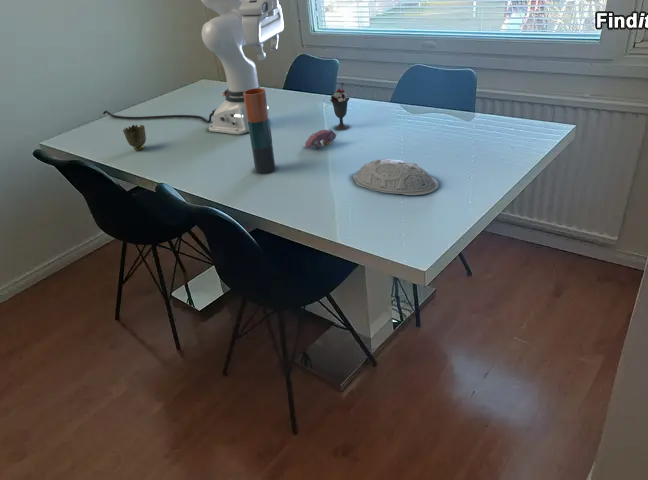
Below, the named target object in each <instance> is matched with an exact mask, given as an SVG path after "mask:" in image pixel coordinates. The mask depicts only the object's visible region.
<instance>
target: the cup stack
mask: <svg viewBox="0 0 648 480" xmlns="http://www.w3.org/2000/svg"><path fill="white" fill-rule="evenodd" d="M247 121H248V120H247ZM270 121H271V120H270V117H269V118H268V119H267V120H265V121H262V122H256V123H254V122H249V121H248V127H249V132H248V134H249V140H250V145H251V151H252V158H253V164H254V170H255V173H257V174H261V175H264V174H270V173H272V172H275V171H276V168H277V167H276V161H275V154H274V145H273V138H272V129H271V122H270Z"/></svg>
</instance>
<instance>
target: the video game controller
mask: <svg viewBox="0 0 648 480" xmlns="http://www.w3.org/2000/svg"><path fill="white" fill-rule="evenodd" d="M336 138H337V134H336V132H335V131H334V130H332V129H331V128H329V129H320V130H318V131H317V132H314V133H312V134H311V135H310V136H309V137H308V139H306V141H305V142H304V145H305V148H306V149H310V148H312V147H315V149H320V148H321V147H322V145H323V146H324V147H327V146H329V145H330V143H331V142H333V141H334V140H335V139H336ZM321 141H322V143H321Z"/></svg>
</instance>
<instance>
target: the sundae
mask: <svg viewBox="0 0 648 480" xmlns="http://www.w3.org/2000/svg"><path fill="white" fill-rule="evenodd" d="M340 85H341V86H340V88H338V89H337V90H336V91H335V92H334V94H333V95H331V96H330V99H329V100H330V102H331V103H332V107H333V111H334V115H335V117H336V118H338V119H339V124H338V125H335V126H334V129H335V130H336V131H344V130H347V129H349V127H350V126H349V125H347V124H344V118H345V117H346V116H347V112H348V104H349V103H348V102H349V100H350V97H348V95H347V93H345V92H346V91H345V90H344V83H343V82H342V83H341V84H340Z"/></svg>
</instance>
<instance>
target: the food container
mask: <svg viewBox="0 0 648 480" xmlns="http://www.w3.org/2000/svg"><path fill="white" fill-rule="evenodd" d="M352 176H353V177H352V179H353V180H354V181H355V184H356V185H357V186H359V187H361V188H362V187H363V188H366V189H368V190H369V189H370V190H372V191H374V192H380V193H383V194H396V195H400V194H401V195H404V196H405V195H406V196H418V195H426V194H431V193H433V192H434V191H436V190H438V188H439V186H440V185H439V183H440V182H439V181H438V180H437V179H436V178H434V177H432V176H431V175H430V174H429V172H427V171H426V170H425V169H424V168H423V167H421V166H420V165H418V163H415V162H408V161H404V160H397V159H390V158H381V159H375V160H372V161H369V162H367V163H365V164H364V165H362V166H361V167H360V169H359V170H358V172H357V174H354V175H352Z"/></svg>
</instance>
